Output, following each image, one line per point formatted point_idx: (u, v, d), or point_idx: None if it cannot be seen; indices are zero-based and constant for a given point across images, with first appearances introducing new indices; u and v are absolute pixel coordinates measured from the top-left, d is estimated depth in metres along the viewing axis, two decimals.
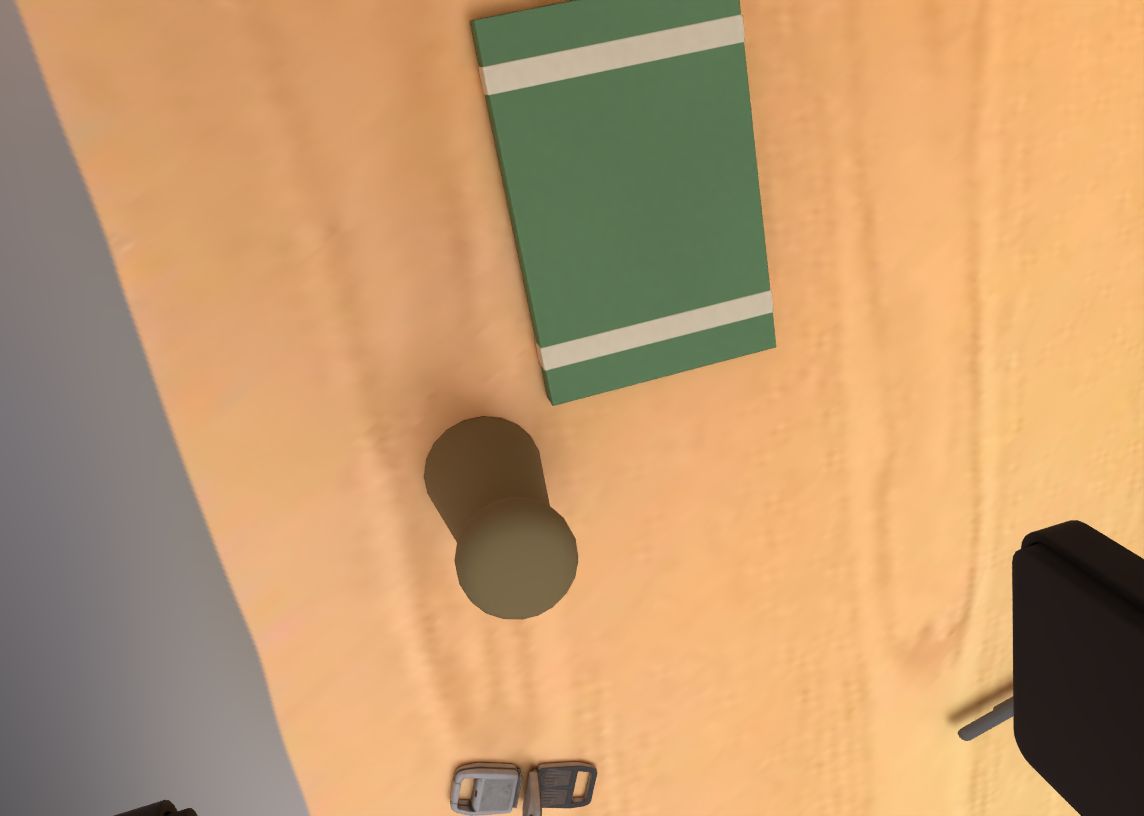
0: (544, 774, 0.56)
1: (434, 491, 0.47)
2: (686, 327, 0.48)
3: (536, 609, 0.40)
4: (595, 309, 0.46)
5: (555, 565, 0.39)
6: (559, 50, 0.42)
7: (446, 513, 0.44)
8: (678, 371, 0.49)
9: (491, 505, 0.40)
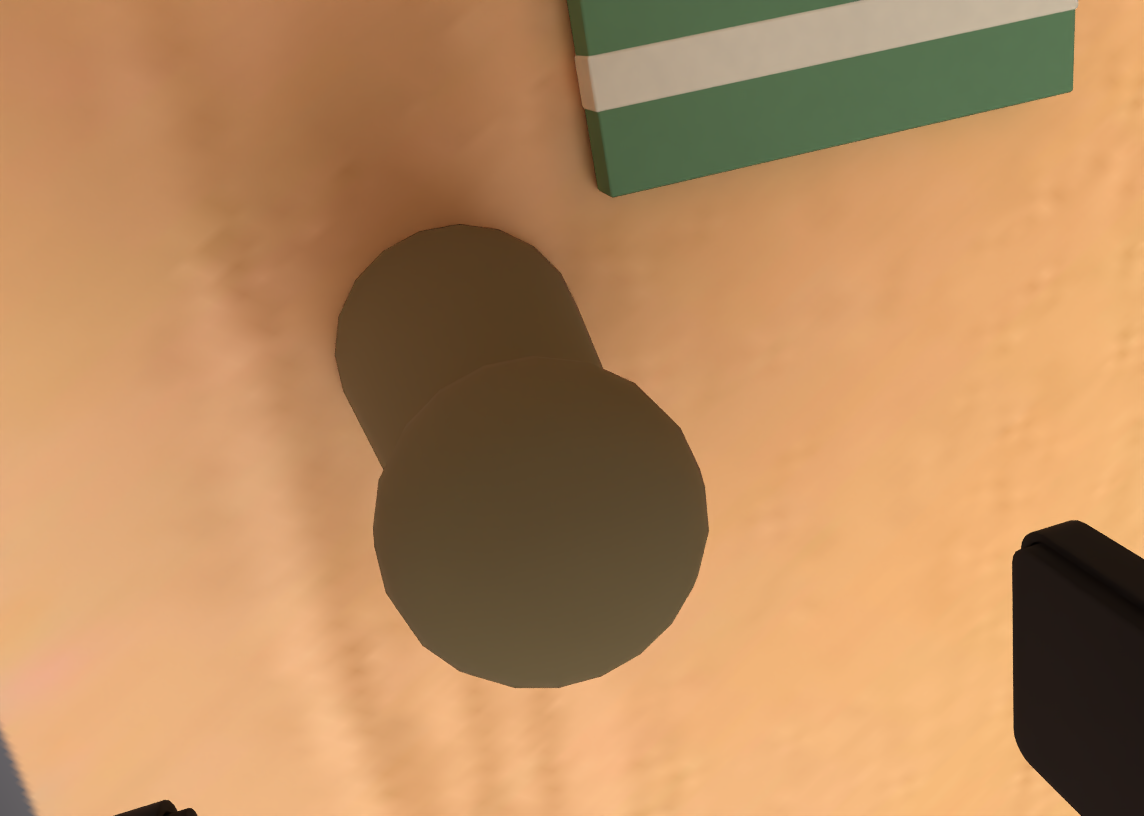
0: None
1: (350, 378, 0.21)
2: (902, 29, 0.22)
3: (599, 663, 0.14)
4: None
5: (655, 540, 0.14)
6: None
7: (370, 419, 0.19)
8: (876, 133, 0.23)
9: (473, 374, 0.15)
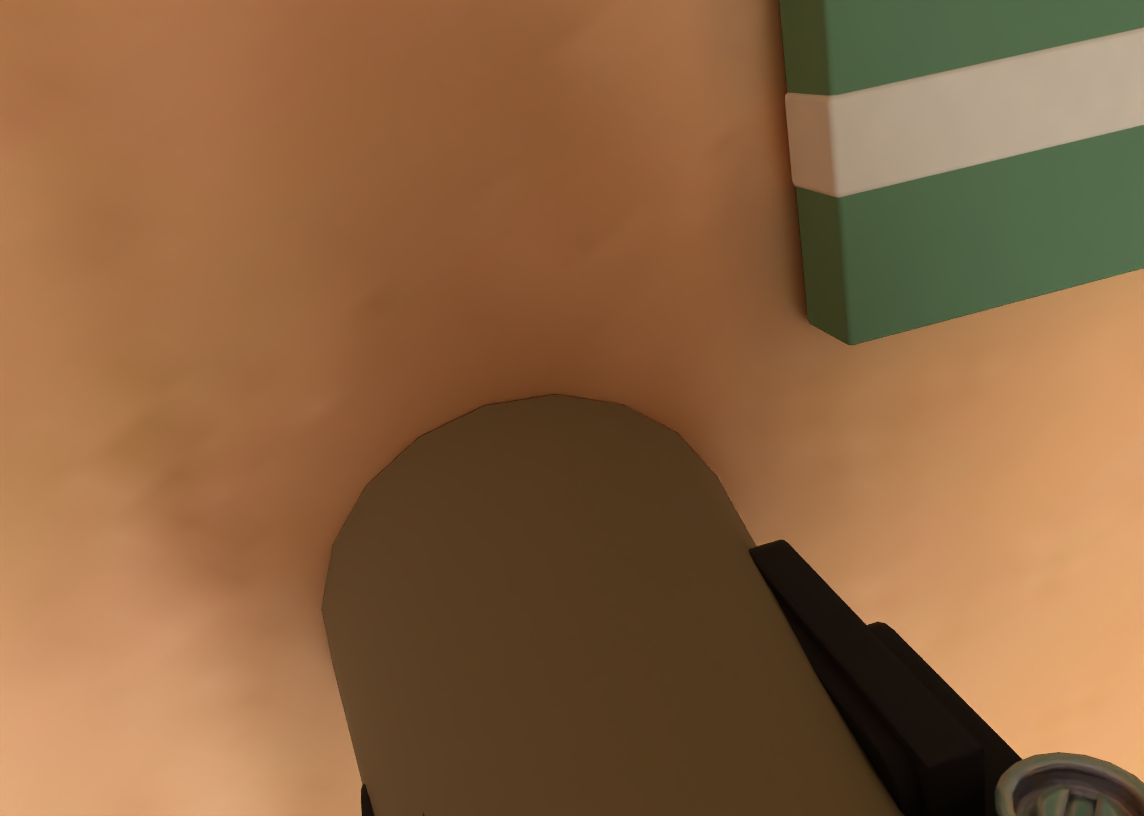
0: None
1: (348, 696, 0.11)
2: None
3: None
4: None
5: None
6: None
7: None
8: None
9: None
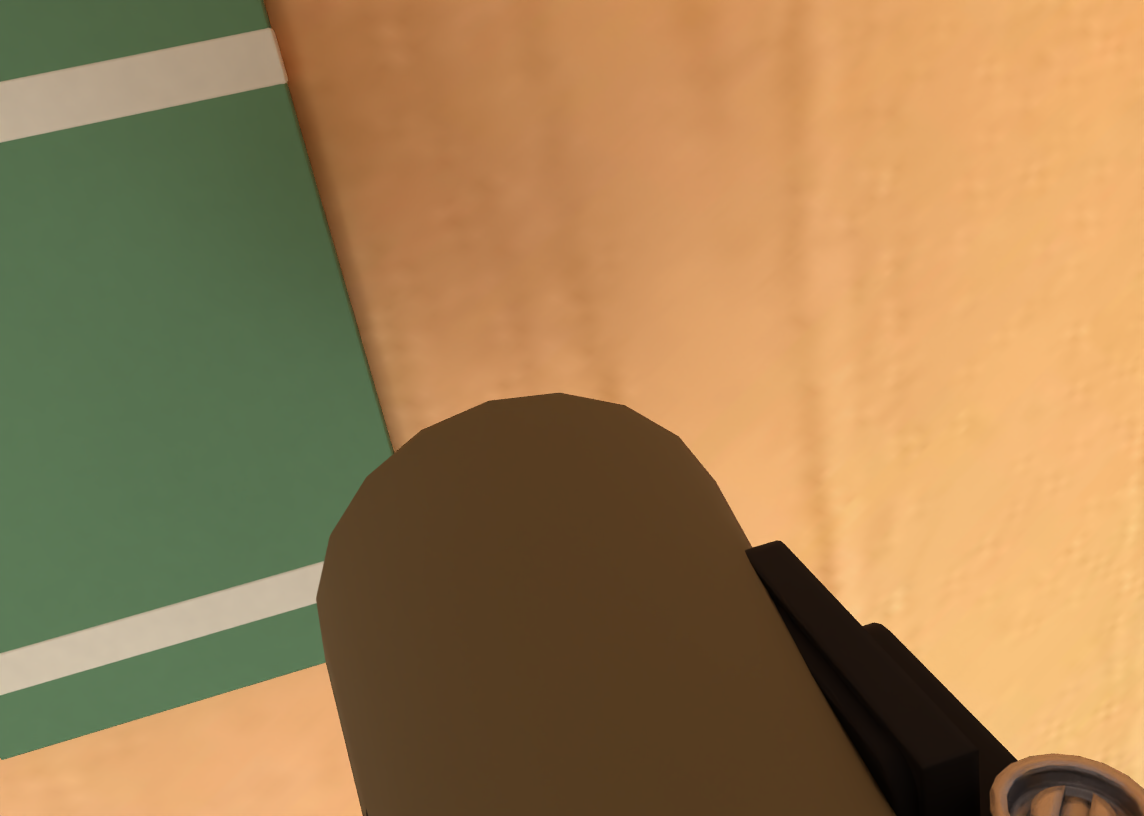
0: None
1: (342, 684, 0.11)
2: (253, 609, 0.26)
3: None
4: (54, 593, 0.24)
5: None
6: None
7: None
8: (251, 682, 0.26)
9: None
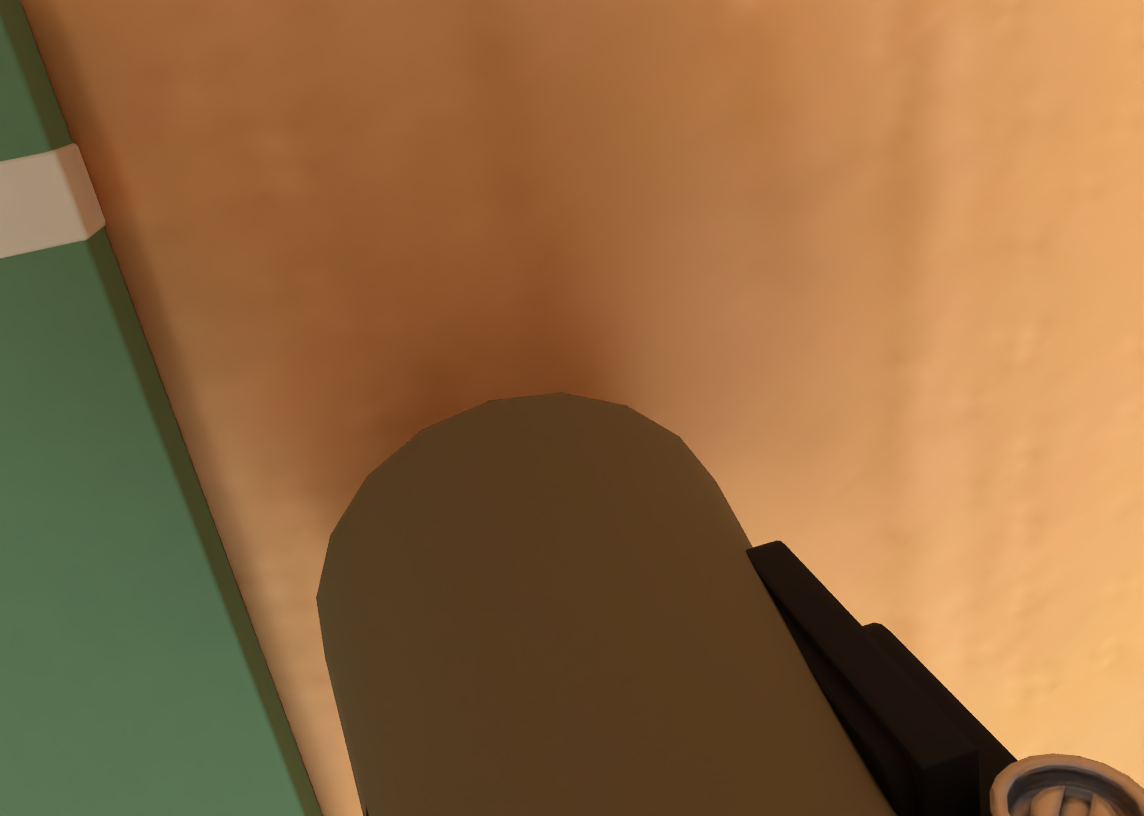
0: None
1: (342, 684, 0.11)
2: None
3: None
4: None
5: None
6: None
7: None
8: None
9: None
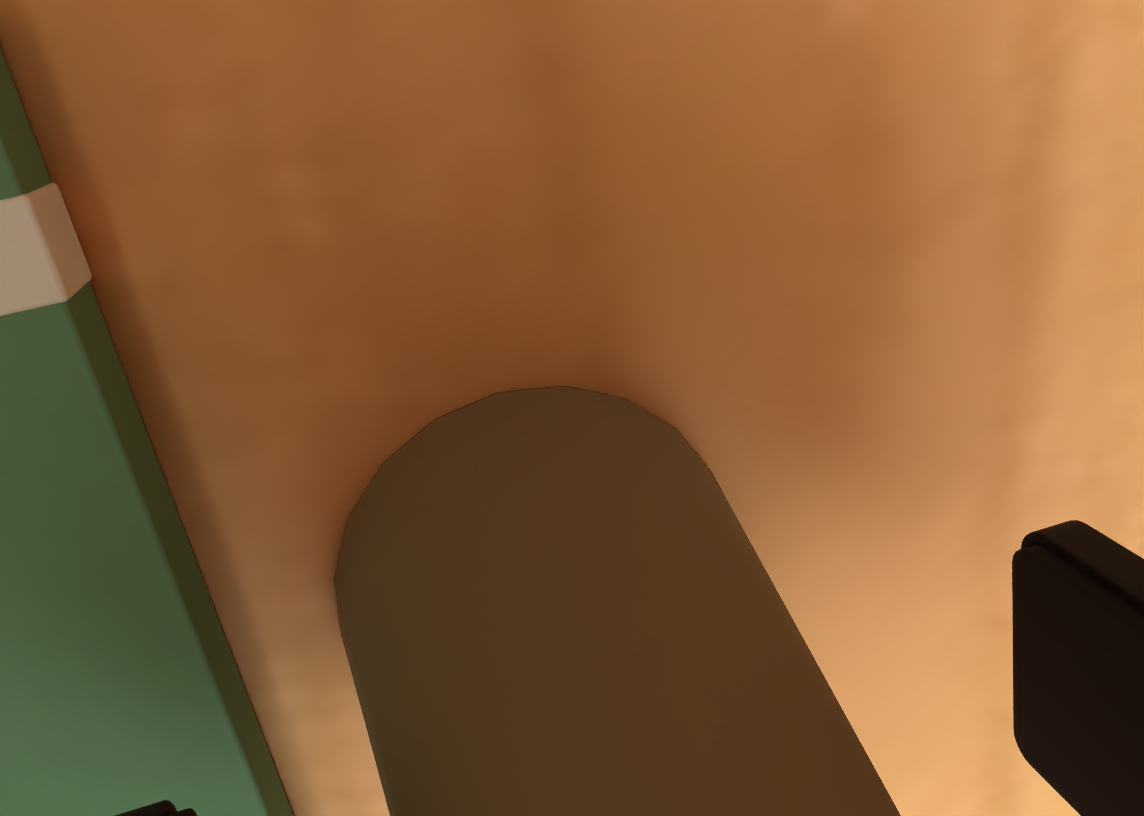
0: None
1: (360, 655, 0.12)
2: None
3: None
4: None
5: None
6: None
7: (396, 793, 0.10)
8: None
9: None
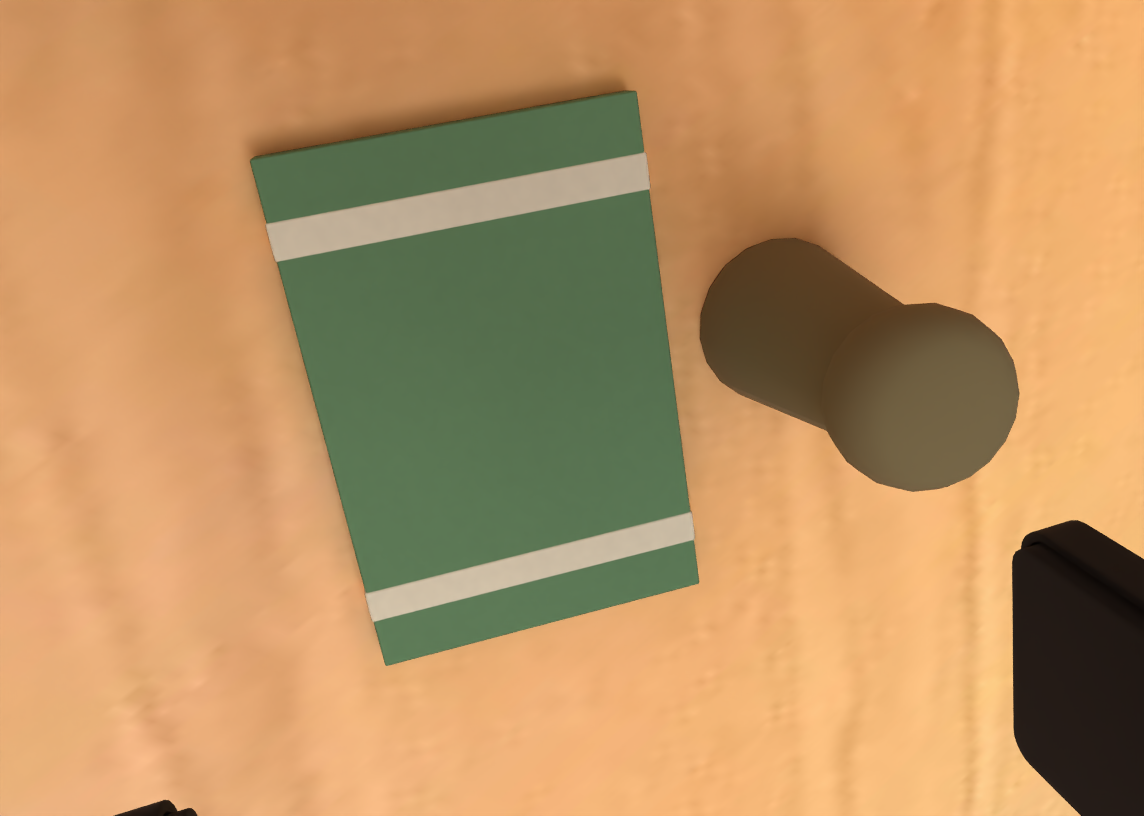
0: None
1: (732, 324, 0.32)
2: (573, 562, 0.35)
3: (953, 475, 0.26)
4: (443, 542, 0.34)
5: (1000, 405, 0.25)
6: (379, 201, 0.30)
7: (769, 344, 0.30)
8: (563, 617, 0.36)
9: (898, 307, 0.26)
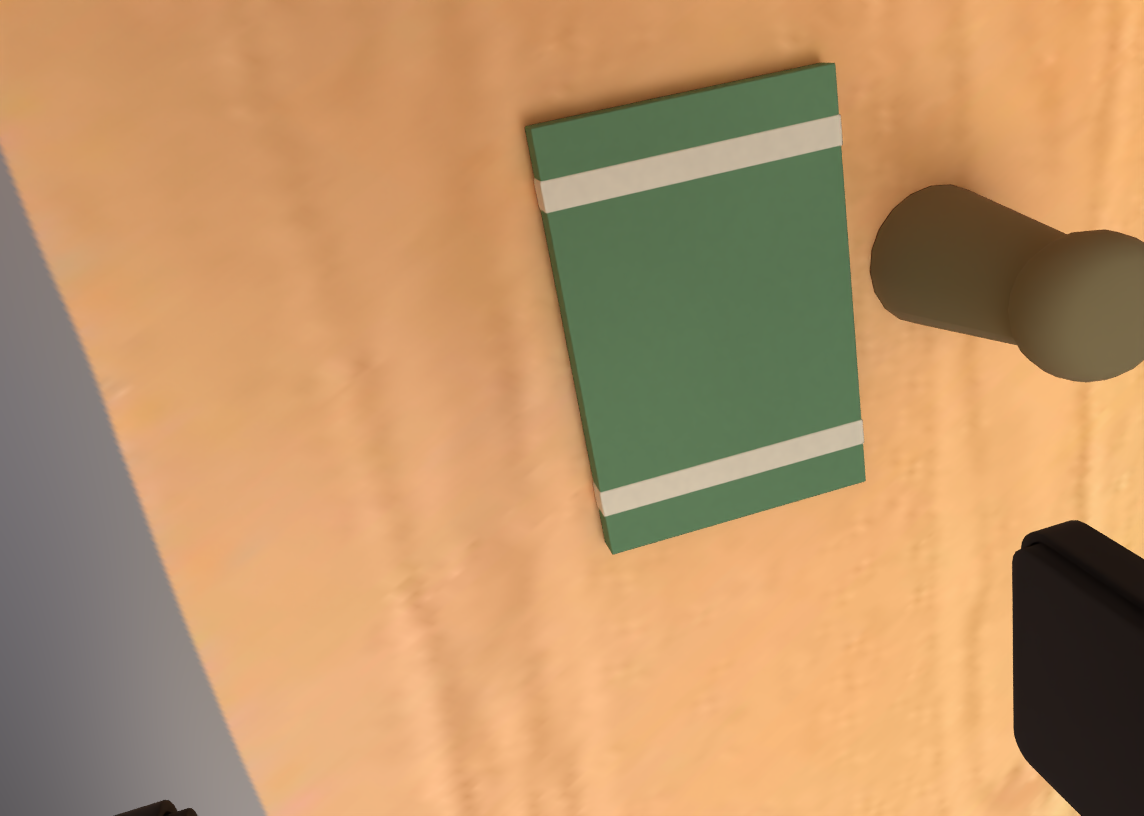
0: None
1: (907, 257, 0.39)
2: (766, 463, 0.42)
3: (1122, 366, 0.32)
4: (664, 448, 0.40)
5: None
6: (629, 160, 0.36)
7: (948, 271, 0.37)
8: (755, 511, 0.42)
9: (1075, 234, 0.33)
